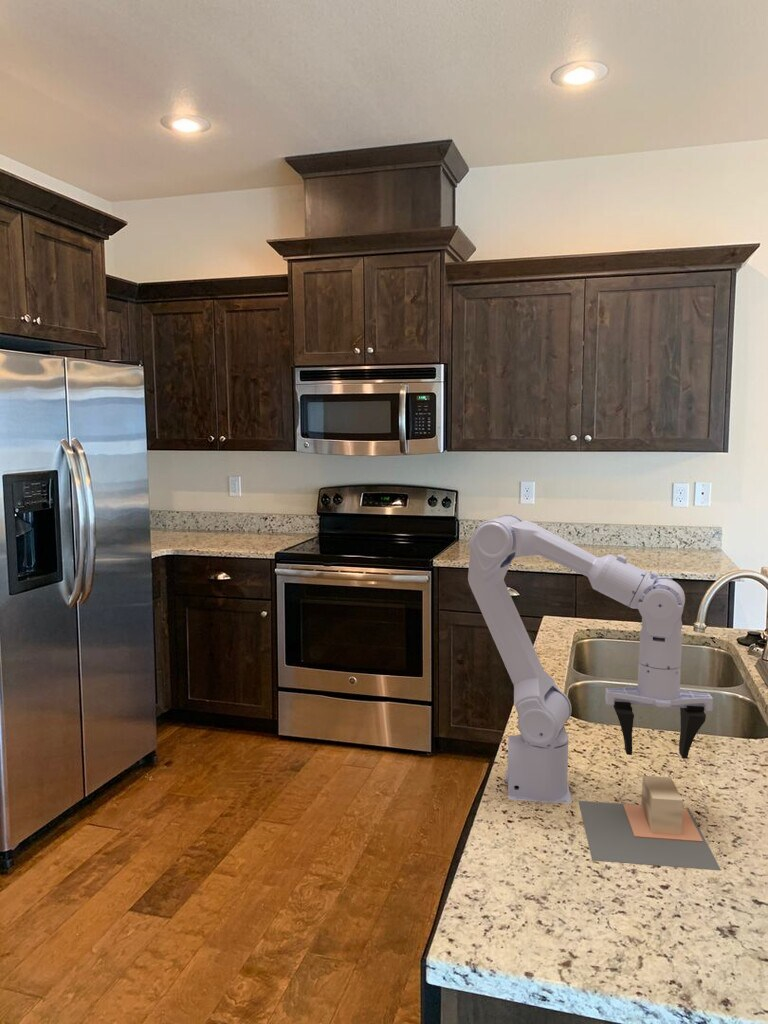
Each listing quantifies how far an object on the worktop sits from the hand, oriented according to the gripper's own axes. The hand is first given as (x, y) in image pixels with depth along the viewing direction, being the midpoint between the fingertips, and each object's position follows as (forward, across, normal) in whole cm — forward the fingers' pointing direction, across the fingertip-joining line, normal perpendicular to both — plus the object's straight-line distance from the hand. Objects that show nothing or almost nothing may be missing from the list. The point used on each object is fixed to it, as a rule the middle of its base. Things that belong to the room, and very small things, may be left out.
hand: (655, 753), depth 109 cm
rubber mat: (+9, -2, -6) cm, 11 cm away
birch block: (+9, 0, -3) cm, 9 cm away
